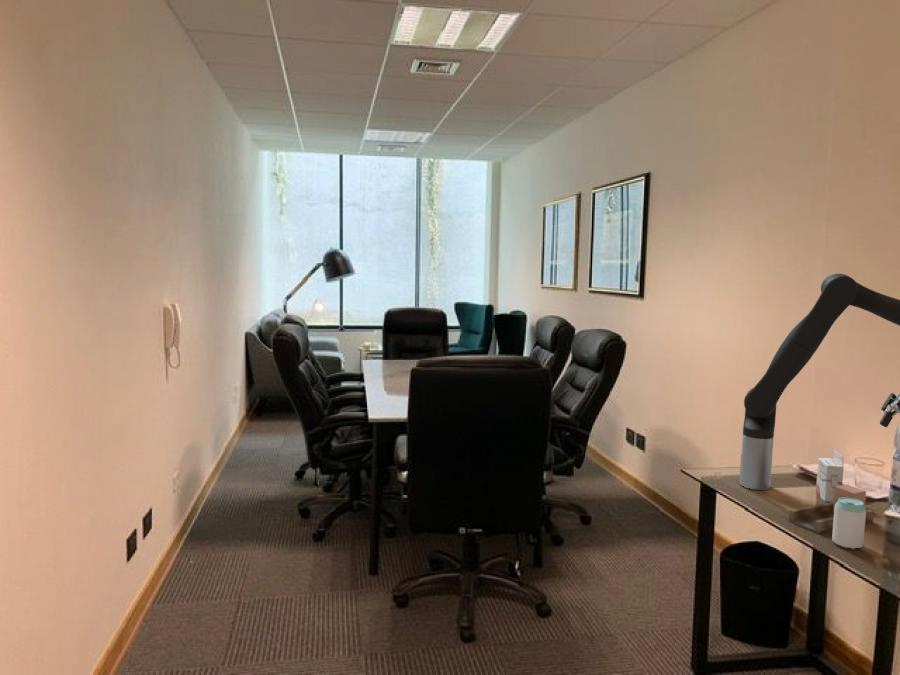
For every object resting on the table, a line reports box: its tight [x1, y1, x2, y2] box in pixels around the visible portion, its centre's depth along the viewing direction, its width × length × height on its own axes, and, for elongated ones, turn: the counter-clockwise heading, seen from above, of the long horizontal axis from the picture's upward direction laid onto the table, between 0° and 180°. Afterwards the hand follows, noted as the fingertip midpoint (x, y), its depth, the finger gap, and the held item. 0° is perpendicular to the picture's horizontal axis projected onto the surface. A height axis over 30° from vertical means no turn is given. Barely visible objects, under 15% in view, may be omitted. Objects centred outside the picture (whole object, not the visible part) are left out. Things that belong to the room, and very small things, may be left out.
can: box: [831, 497, 867, 550], centre depth 173 cm, size 7×7×12 cm
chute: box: [788, 502, 875, 535], centre depth 189 cm, size 22×9×3 cm, turn 112°
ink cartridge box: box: [815, 449, 844, 503], centre depth 207 cm, size 9×5×15 cm, turn 168°
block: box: [833, 484, 867, 513], centre depth 191 cm, size 5×6×8 cm
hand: (893, 428), depth 191 cm, fingers open, 8 cm apart
